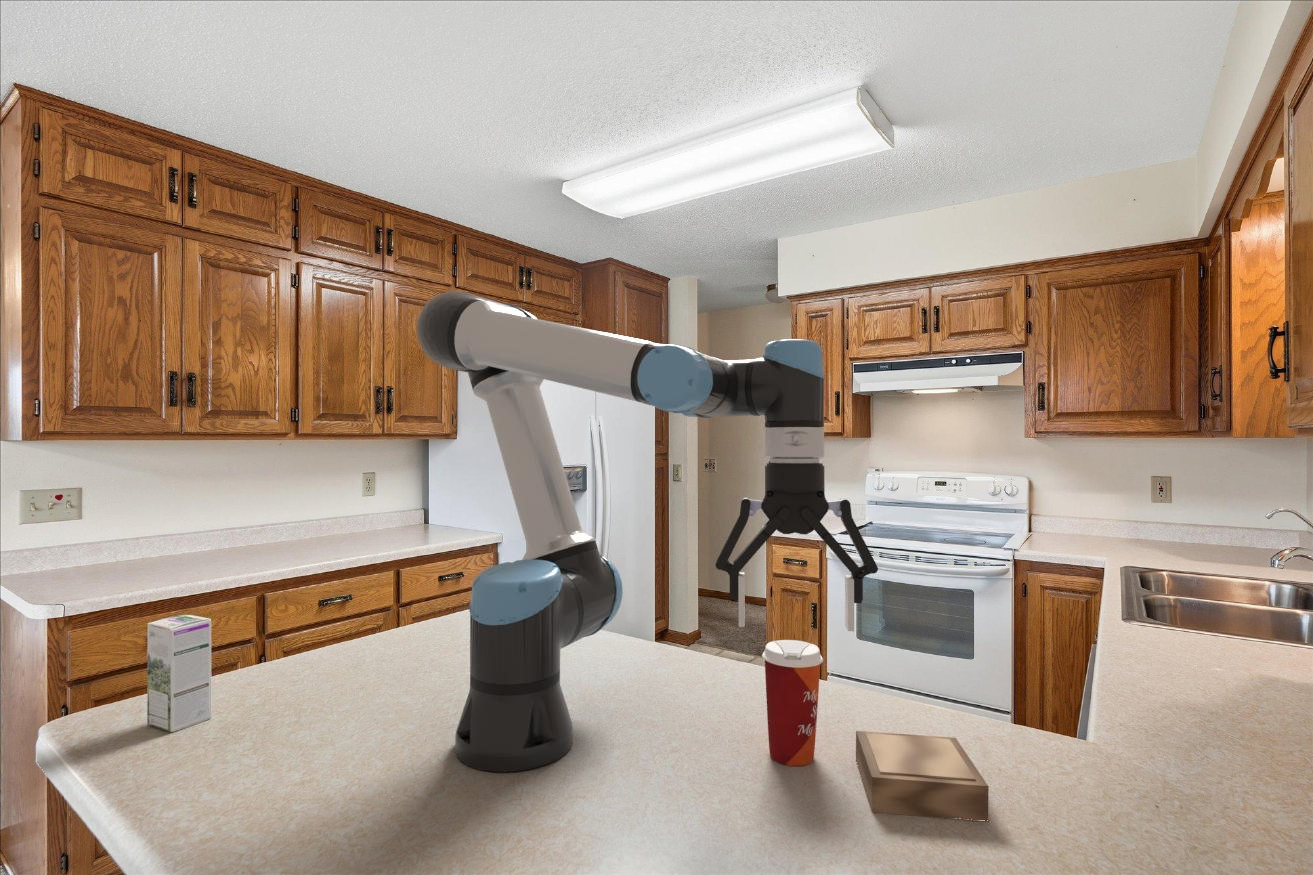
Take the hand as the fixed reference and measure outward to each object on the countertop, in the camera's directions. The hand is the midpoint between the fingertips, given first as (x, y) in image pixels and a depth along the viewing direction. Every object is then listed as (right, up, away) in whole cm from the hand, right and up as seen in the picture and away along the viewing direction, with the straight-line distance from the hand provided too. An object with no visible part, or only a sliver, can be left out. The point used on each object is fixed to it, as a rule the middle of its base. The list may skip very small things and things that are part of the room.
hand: (795, 626), depth 87 cm
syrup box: (-85, -16, +8) cm, 87 cm away
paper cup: (0, -17, 0) cm, 17 cm away
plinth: (+12, -17, -8) cm, 22 cm away
